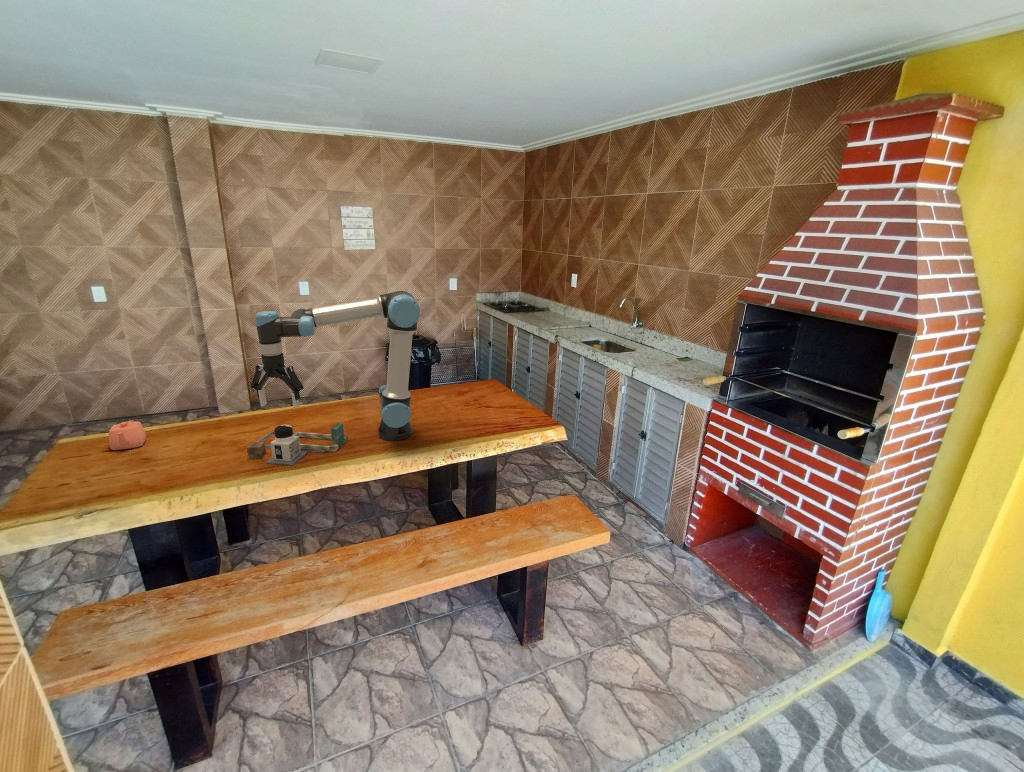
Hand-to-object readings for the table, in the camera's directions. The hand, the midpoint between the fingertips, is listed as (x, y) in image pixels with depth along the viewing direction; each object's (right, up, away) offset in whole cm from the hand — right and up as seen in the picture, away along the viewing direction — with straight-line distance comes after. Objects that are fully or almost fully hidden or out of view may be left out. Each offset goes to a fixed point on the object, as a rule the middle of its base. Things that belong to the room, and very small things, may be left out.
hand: (280, 406), depth 190 cm
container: (-1, -21, +7) cm, 22 cm away
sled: (+6, -17, +20) cm, 26 cm away
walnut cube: (-13, -20, +9) cm, 26 cm away
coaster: (0, -21, +7) cm, 22 cm away
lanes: (-2, -16, +21) cm, 27 cm away
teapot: (-70, -17, +15) cm, 74 cm away
